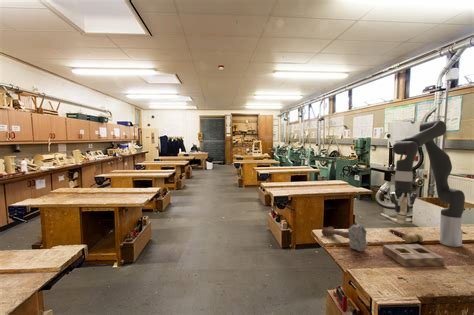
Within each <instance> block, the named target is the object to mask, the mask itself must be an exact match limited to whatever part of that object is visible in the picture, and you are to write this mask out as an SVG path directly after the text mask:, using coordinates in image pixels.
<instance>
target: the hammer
mask: <svg viewBox="0 0 474 315" xmlns="http://www.w3.org/2000/svg"><path fill="white" fill-rule="evenodd" d="M367 232H368V230H366V228H365V226H364V225H363V224H352V225H351V226H350V227H349V228H348V229H347V231H342V230H338V229H337V230H336V229H335V228H334V226H328V227H322V229H321V235H323V236H328V235H329V236H330V235H332V236H333V235H336V236H340V237H342V238H344V239H348V240H349V241H348V242H347V243H348V245H349V247H350V248H351V249H353V250H354V251H357V252H364V251H365V250H366V249H367V248H368V247H369V246H368V244H369V243H368V241H367Z"/></svg>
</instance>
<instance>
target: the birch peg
mask: <svg viewBox="0 0 474 315" xmlns="http://www.w3.org/2000/svg"><path fill="white" fill-rule="evenodd" d="M398 199H399V198H398ZM399 206H400V213H398V212H396V223H397V224H399V225H400V224H401V225H406V224H407V215H408V214H407V197H403V199H402V202H401V203H400V205H399Z"/></svg>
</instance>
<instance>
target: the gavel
mask: <svg viewBox="0 0 474 315" xmlns="http://www.w3.org/2000/svg"><path fill="white" fill-rule="evenodd" d="M389 230H390V231H391V232H394V233H395V234H394V235H396V234H397V235H396V236H398V235H400V236H399V237H401V236H402V237H401V239H402V241H403V240H405V241H406V242H405V243H406V244H411V243H422V242H423V240H424V238H423V236H422V235H421V234H413V235H408V234H407V233H404V232H401V231H398V230H395V229H389V228H388V231H389ZM390 231H389V232H390ZM391 232H390V233H391ZM417 241H419V242H417Z"/></svg>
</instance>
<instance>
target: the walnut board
mask: <svg viewBox="0 0 474 315" xmlns="http://www.w3.org/2000/svg"><path fill="white" fill-rule="evenodd" d="M382 253H384V254H385V255H387V257H389V258H391V259H393V260H394V261H396V263H399V264H400V265H401V266H403V267H404V268H408V267H409V268H411V267H412V268H413V267H442V266H443V267H444V266H445V257H444V256H442V255H440V254H438V253H436V252H434V251H432V250H430V249H428V248H426V247H424V246H423V245H421V244H419V243H406V244H382Z"/></svg>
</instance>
